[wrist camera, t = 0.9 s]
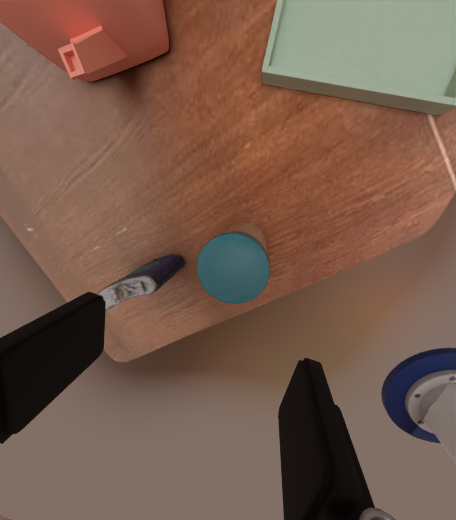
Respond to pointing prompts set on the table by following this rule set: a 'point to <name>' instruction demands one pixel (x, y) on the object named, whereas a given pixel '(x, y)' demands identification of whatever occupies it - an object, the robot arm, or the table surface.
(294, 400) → the robot arm
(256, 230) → the jar
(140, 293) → the flask
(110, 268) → the table surface
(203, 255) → the lid
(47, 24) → the teapot
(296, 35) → the tray
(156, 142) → the table surface
